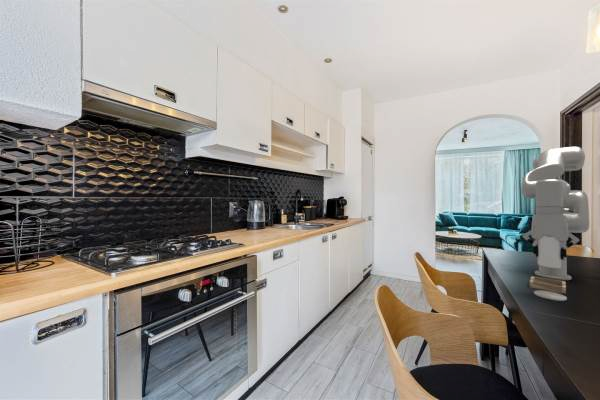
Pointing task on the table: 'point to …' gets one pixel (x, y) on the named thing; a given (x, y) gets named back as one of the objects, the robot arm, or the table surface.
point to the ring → (548, 284)
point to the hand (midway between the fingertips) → (549, 257)
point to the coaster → (550, 295)
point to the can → (549, 252)
